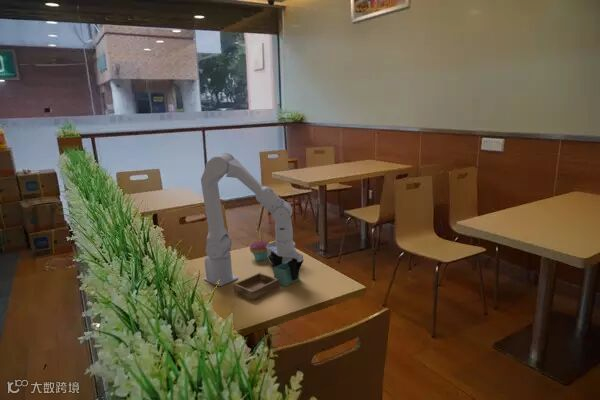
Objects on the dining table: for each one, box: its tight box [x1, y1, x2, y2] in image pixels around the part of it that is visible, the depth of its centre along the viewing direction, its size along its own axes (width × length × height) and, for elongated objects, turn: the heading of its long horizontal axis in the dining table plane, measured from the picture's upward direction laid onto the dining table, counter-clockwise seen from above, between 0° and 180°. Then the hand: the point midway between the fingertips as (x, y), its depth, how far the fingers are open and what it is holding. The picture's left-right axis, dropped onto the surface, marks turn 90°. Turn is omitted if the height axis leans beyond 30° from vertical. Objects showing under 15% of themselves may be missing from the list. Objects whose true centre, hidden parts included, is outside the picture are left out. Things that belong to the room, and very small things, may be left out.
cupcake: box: [249, 227, 270, 261], centre depth 159 cm, size 9×8×12 cm
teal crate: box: [273, 261, 300, 287], centre depth 138 cm, size 5×7×6 cm
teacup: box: [266, 240, 297, 265], centre depth 154 cm, size 14×11×8 cm
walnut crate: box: [232, 272, 280, 302], centre depth 132 cm, size 9×11×3 cm
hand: (286, 276), depth 138 cm, fingers open, 7 cm apart
